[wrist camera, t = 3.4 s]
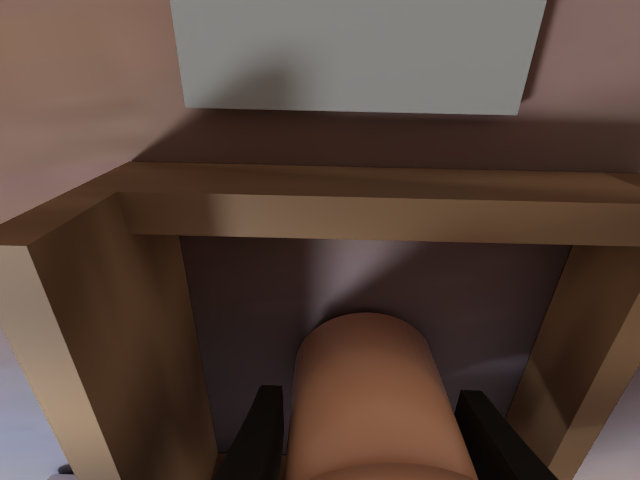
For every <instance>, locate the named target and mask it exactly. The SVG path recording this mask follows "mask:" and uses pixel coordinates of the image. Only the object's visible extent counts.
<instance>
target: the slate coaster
mask: <svg viewBox="0 0 640 480" xmlns="http://www.w3.org/2000/svg"><path fill="white" fill-rule="evenodd" d="M546 2H547V0H170V5H171V12H172V19H173V26H174V33H175V39H176V46H177V53H178V60H179V67H180V74H181V81H182V88H183V95H184V102H185V108H216V109H261V110H306V111H350V112H395V113H440V114H484V115H517V114H518V110H519V106H520V103H521V99H522V95H523V91H524V87H525V83H526V79H527V76H528V72H529V68H530V64H531V60H532V56H533V52H534V48H535V45H536V41H537V37H538V33H539V29H540V25H541V21H542V18H543V14H544V10H545V6H546Z"/></svg>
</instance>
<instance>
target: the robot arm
mask: <svg viewBox="0 0 640 480" xmlns="http://www.w3.org/2000/svg"><path fill="white" fill-rule="evenodd" d="M454 415H455V418H456V420H457V423H458V426H459V428H460V431H461V434H462V437H463V439H464V442H465V445H466V447H467V450H468V453H469V455H470V458H471V461H472V464H473V466H474V469H475V472H476V474H477V477H478V480H559V479H558V478H557V477H556V476H555V475H554V474H553V473H552V472H551V471H550V470H549V469H548V467H547V466H546V465H545V464H544V463H543V462H542V461H541V460H540V459H539V457H538V456H537V455H536V454H535V453H534V452H533V451H532V450H531V449H530V447H529V446H528V445H527V444H526V443H525V442H524V441H523V439H522V438H521V437H520V436H519V435H518V434H517V432H516V431H515V430H514V429H513V428H512V427H511V425H510V424H509V423H508V422H507V421H506V419H505V418H504V417H503V416H502V415H501V414H500V412H499V411H498V410H497V409H496V408H495V406H494V405H493V404H492V403H491V402H490V400H489V399H488V398H487V397H486V396H485V394H484V393H483V392H482V391H473V390H461V392H460V395H459V399H458V402H457V406H456V410H455V413H454ZM283 436H284V416H283V392H282V386H274V385H262V386H261V387H259V389H258V392H257V394H256V397H255V399H254V402H253V404H252V406H251V408H250V411H249V413H248V415H247V417H246V419H245V421H244V423H243V425H242V427H241V429H240V431H239V433H238V435H237V436H236V438H235V440H234V442H233V444H232V446H231V447H230V449H229V451H228V453H227V455H226V456H225V458H224V460H223V462H222V463H221V465H220V467H219V468H218V470H217V472H216V473H215V475H214V476H213V478H212V480H279V474H280V468H281V459H282V448H283ZM48 480H77V478H76V476H75V474H54V475H52V476H50V477H49V479H48Z"/></svg>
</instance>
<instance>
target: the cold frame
mask: <svg viewBox="0 0 640 480" xmlns="http://www.w3.org/2000/svg"><path fill="white" fill-rule="evenodd" d="M179 235H190V236H231V237H271V238H312V239H353V240H394V241H435V242H476V243H517V244H557V245H573V246H572V249H571V251H570V254H569V256H568V259H567V262H566V264H565V267H564V269H563V272H562V274H561V277H560V280H559V282H558V285H557V287H556V290H555V292H554V295H553V298H552V300H551V303H550V305H549V308H548V310H547V313H546V316H545V318H544V321H543V323H542V326H541V329H540V331H539V334H538V336H537V339H536V341H535V344H534V347H533V349H532V352H531V354H530V357H529V359H528V362H527V365H526V367H525V370H524V372H523V375H522V377H521V380H520V383H519V385H518V388H517V390H516V393H515V395H514V398H513V401H512V403H511V406H510V408H509V411H508V413H507V416H506V421H507V422H508V423H509V424H510V425H511V427H512V428H513V429H514V430H515V431H516V432H517V434H518V435H519V436H520V437H521V438H522V439H523V441H524V442H525V443H526V444H527V445H528V446H529V447H530V449H531V450H532V451H533V452H534V453H535V454H536V455H537V456H538V457H539V459H540V460H541V461H542V462H543V463H544V464H545V465H546V466H547V467H548V469H549V470H550V471H551V472H552V473H553V474H554V475H555V476H556V477H557V478H558V479H559V480H572V479H573V477H574V476H575V474H576V472H577V471H578V469H579V467H580V465H581V464H582V462H583V460H584V459H585V457H586V455H587V454H588V452H589V450H590V448H591V447H592V445H593V443H594V442H595V440H596V438H597V437H598V435H599V433H600V431H601V430H602V428H603V426H604V425H605V423H606V421H607V420H608V418H609V416H610V414H611V413H612V411H613V409H614V408H615V406H616V404H617V402H618V401H619V399H620V397H621V396H622V394H623V392H624V391H625V389H626V387H627V385H628V384H629V382H630V380H631V379H632V377H633V375H634V374H635V372H636V370H637V368H638V367H639V365H640V174H638V173H602V172H559V171H516V170H473V169H430V168H387V167H344V166H301V165H258V164H216V163H173V162H130V161H129V162H127V163H125V164H123V165H121V166H119V167H117V168H115V169H113V170H111V171H109V172H107V173H105V174H103V175H101V176H99V177H97V178H95V179H93V180H90V181H88V182H86V183H84V184H82V185H80V186H78V187H76V188H74V189H72V190H70V191H68V192H66V193H64V194H62V195H60V196H58V197H56V198H54V199H51V200H49V201H47V202H45V203H43V204H41V205H39V206H37V207H35V208H33V209H31V210H29V211H27V212H25V213H23V214H21V215H19V216H17V217H15V218H12V219H10V220H8V221H6V222H4V223H2V224H0V327H1V329H2V331H3V333H4V335H5V337H6V339H7V341H8V343H9V345H10V347H11V349H12V351H13V353H14V355H15V357H16V359H17V361H18V363H19V365H20V367H21V369H22V371H23V373H24V375H25V377H26V379H27V381H28V383H29V385H30V387H31V389H32V391H33V393H34V395H35V397H36V399H37V401H38V403H39V405H40V407H41V409H42V411H43V413H44V415H45V417H46V419H47V421H48V423H49V424H50V426H51V428H52V430H53V432H54V434H55V436H56V438H57V440H58V442H59V444H60V446H61V448H62V450H63V452H64V454H65V456H66V458H67V460H68V462H69V464H70V466H71V468H72V470H73V472H74V474H75V476H76V478H77V480H212V478H213V476H214V475H215V473H216V472H217V470H218V468H219V467H220V465H221V463H222V462H223V460H224V458H225V456H226V455H227V454H223V453H218V450H217V445H216V439H215V434H214V428H213V423H212V417H211V411H210V406H209V400H208V395H207V389H206V384H205V378H204V373H203V367H202V362H201V356H200V351H199V345H198V339H197V334H196V328H195V323H194V317H193V312H192V306H191V301H190V295H189V290H188V284H187V279H186V273H185V267H184V262H183V256H182V251H181V245H180V240H179ZM285 464H286V455H282V459H281V468H280V474H279V480H284V474H285Z"/></svg>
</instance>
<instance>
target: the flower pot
mask: <svg viewBox="0 0 640 480" xmlns="http://www.w3.org/2000/svg"><path fill="white" fill-rule="evenodd" d="M284 480H478V477H477V474H476V472H475V469H474V466H473V464H472V461H471V458H470V455H469V453H468V450H467V447H466V445H465V442H464V439H463V437H462V434H461V431H460V428H459V426H458V423H457V420H456V418H455V415H454V412H453V410H452V407H451V404H450V402H449V399H448V396H447V393H446V391H445V388H444V385H443V383H442V380H441V377H440V375H439V372H438V369H437V367H436V364H435V361H434V358H433V356H432V353H431V350H430V348H429V346H428V343H427V341H426V340H425V338H424V337H423V336H422V334H421V333H420V332H419V331H418V330H417V329H415V328H414V327H413V326H412V325H410V324H408V323H407V322H405V321H403V320H401V319H398V318H396V317H393V316H389V315H385V314H380V313H369V312H368V313H353V314H347V315H343V316H340V317H337V318H334V319H331V320H329V321H327V322H325V323H323V324H322V325H320V326H319V327H317V328H316V329H315V330H313V331H312V332H311V333H310V334H309V335H308V336H307V337H306V338H305V340H304V341H303V343H302V344H301V346H300V348H299V350H298V353H297V357H296V364H295V374H294V384H293V394H292V404H291V414H290V424H289V434H288V444H287V454H286V464H285V474H284Z"/></svg>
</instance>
